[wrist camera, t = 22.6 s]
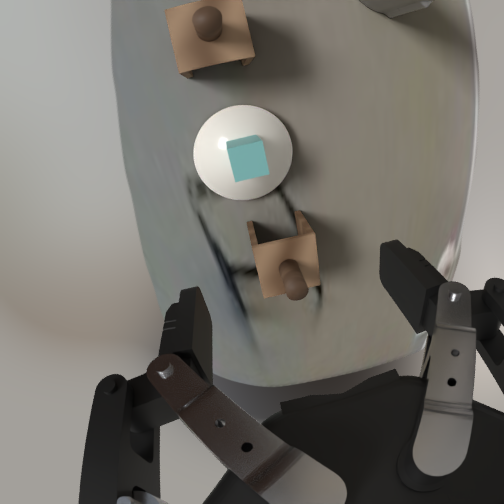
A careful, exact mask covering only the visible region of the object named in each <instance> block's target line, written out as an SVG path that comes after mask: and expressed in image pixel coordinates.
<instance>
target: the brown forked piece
mask: <svg viewBox="0 0 504 504" xmlns="http://www.w3.org/2000/svg"><path fill="white" fill-rule="evenodd" d="M165 14H166V19H167V23H168V28H169V32H170V36H171V41H172V45H173V49H174V54H175V58H176V62H177V66H178V71H179V74H181V75H183V76H184V77H186V78H191V77H193V73H192V70H196V69H200V68H204V67H208V66H212V65H217V64H221V63H226V62H231V61H236V60H241V62H242V66H244V65H249V63H250V62H251V61H252V60H253V58H254V57H255V53H254V49H253V44H252V40H251V36H250V32H249V28H248V23H247V19H246V15H245V11H244V7H243V3H242V0H201V1H197V2H192V3H188V4H184V5H180V6H177V7H173V8H170V9H166V10H165Z"/></svg>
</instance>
